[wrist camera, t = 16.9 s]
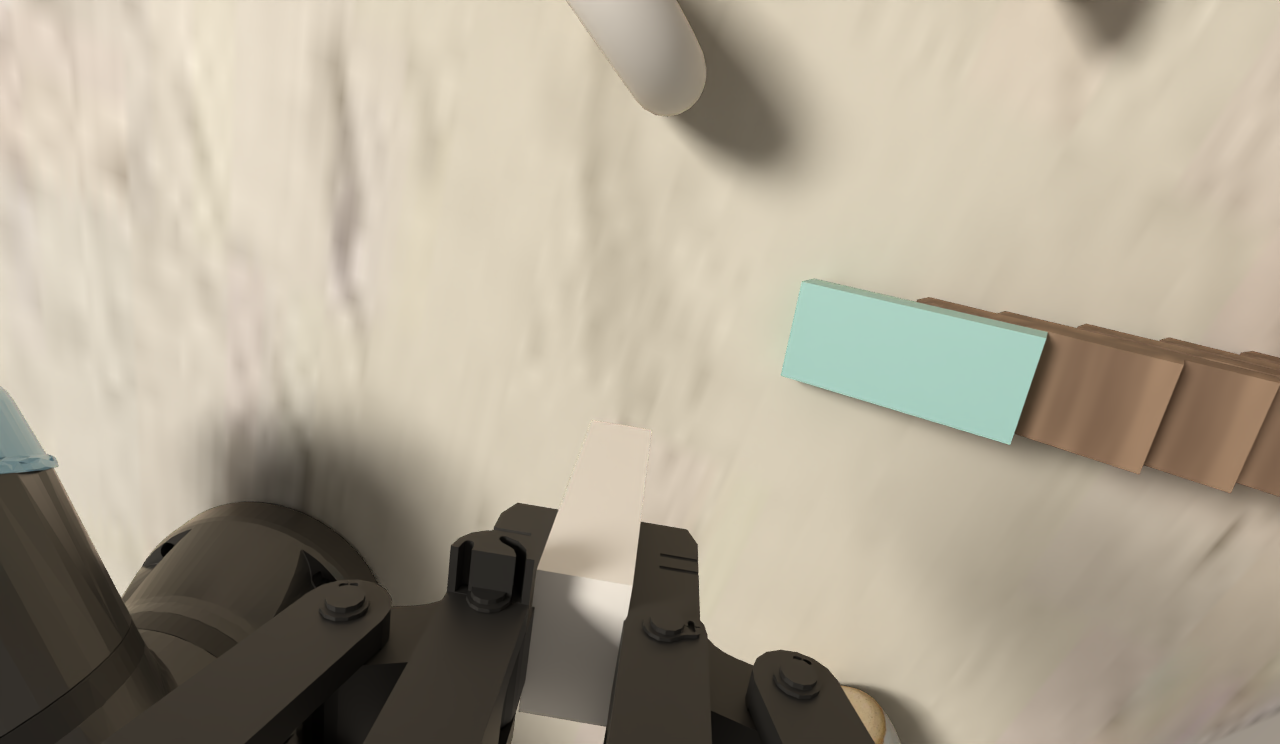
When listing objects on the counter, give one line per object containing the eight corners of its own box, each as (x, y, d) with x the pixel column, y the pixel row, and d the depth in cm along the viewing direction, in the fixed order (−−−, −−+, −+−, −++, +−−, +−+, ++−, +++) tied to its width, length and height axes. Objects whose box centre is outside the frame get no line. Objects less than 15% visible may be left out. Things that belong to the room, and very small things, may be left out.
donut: (719, 93, 34) (728, 67, 25) (663, 137, 35) (649, 128, 26) (596, -92, 32) (554, -197, 23) (539, -41, 33) (475, -121, 24)
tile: (780, 375, 36) (1010, 445, 31) (801, 281, 35) (1046, 338, 30) (793, 368, 38) (1013, 433, 33) (814, 278, 37) (1047, 332, 32)
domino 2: (966, 407, 36) (1230, 493, 30) (995, 314, 35) (1280, 383, 28) (976, 400, 38) (1230, 481, 31) (1005, 311, 36) (1277, 376, 30)
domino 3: (1044, 419, 36) (1327, 512, 29) (1077, 326, 35) (1383, 401, 28) (1054, 413, 38) (1326, 500, 31) (1086, 323, 36) (1379, 394, 29)
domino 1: (891, 393, 36) (1139, 474, 30) (917, 299, 35) (1183, 364, 29) (903, 387, 38) (1142, 462, 32) (929, 297, 36) (1184, 358, 30)
